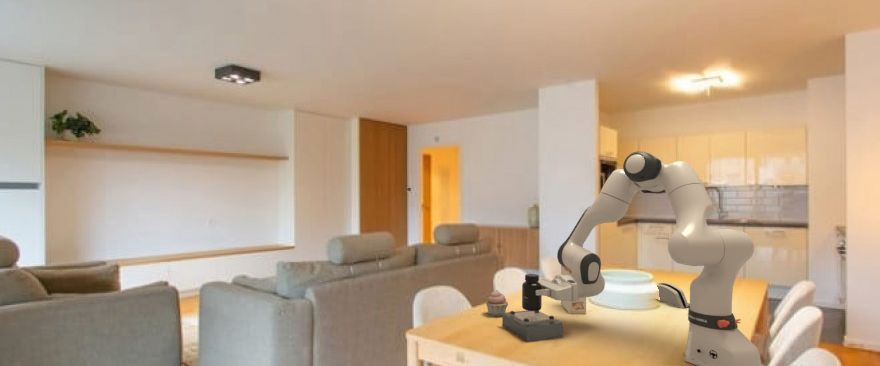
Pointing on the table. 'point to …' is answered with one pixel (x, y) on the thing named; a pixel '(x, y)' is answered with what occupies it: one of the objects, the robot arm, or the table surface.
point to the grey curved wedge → (672, 295)
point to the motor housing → (532, 325)
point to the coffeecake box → (575, 306)
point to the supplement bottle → (531, 293)
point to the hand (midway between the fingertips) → (529, 290)
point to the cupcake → (496, 304)
